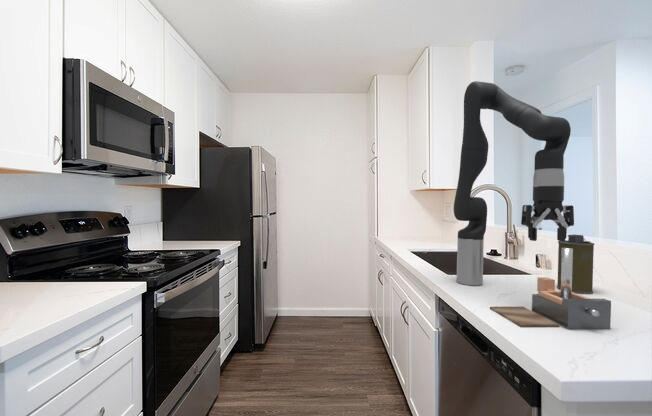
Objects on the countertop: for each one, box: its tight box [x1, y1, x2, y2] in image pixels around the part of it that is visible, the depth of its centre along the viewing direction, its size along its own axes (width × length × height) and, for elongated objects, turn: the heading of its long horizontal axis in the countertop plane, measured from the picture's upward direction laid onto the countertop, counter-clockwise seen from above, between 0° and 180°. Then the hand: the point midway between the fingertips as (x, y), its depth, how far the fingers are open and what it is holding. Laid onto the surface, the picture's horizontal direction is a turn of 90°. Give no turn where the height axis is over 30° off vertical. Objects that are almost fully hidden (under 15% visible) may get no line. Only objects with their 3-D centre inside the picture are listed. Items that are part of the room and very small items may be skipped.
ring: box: [536, 276, 592, 305], centre depth 90 cm, size 14×9×4 cm, turn 3°
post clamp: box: [531, 248, 612, 330], centre depth 86 cm, size 15×11×19 cm
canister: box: [556, 234, 595, 295], centre depth 117 cm, size 11×10×20 cm
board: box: [489, 306, 560, 328], centre depth 88 cm, size 14×10×1 cm
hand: (547, 240), depth 95 cm, fingers open, 8 cm apart
